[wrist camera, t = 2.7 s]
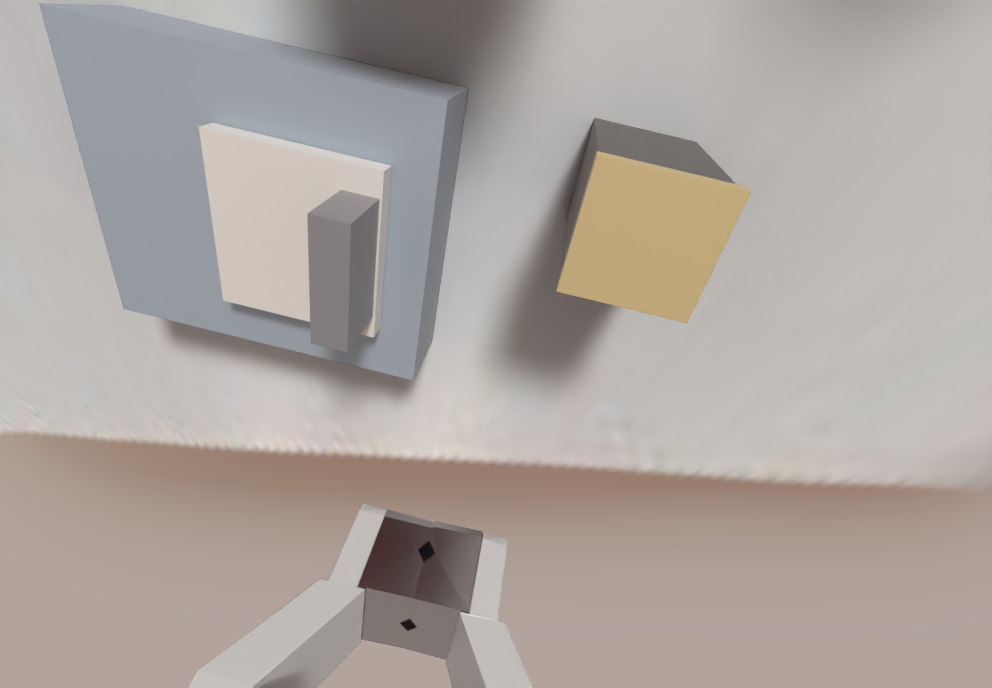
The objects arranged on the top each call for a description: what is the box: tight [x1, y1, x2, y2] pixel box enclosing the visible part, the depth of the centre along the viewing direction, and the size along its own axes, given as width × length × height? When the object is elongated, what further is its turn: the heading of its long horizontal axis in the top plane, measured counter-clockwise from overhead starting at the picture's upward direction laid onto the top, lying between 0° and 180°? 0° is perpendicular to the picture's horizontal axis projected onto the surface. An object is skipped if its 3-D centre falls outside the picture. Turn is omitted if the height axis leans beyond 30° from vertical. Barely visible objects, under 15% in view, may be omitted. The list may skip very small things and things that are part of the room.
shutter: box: [199, 123, 391, 352], centre depth 18 cm, size 7×7×3 cm
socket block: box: [39, 3, 468, 380], centre depth 21 cm, size 14×12×4 cm
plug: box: [557, 118, 751, 323], centre depth 17 cm, size 4×4×7 cm
